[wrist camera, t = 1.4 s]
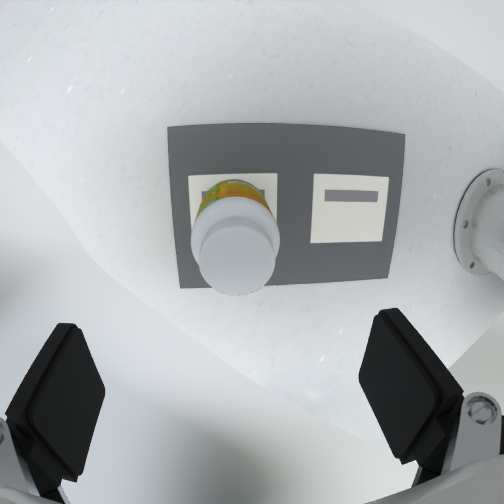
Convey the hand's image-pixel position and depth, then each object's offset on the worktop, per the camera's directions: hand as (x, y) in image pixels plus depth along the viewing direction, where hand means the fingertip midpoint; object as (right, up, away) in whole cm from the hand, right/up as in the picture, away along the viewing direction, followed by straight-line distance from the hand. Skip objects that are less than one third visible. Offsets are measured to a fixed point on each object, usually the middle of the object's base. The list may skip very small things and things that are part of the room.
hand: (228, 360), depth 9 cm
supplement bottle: (-1, +7, +16) cm, 17 cm away
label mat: (+4, +7, +16) cm, 18 cm away
